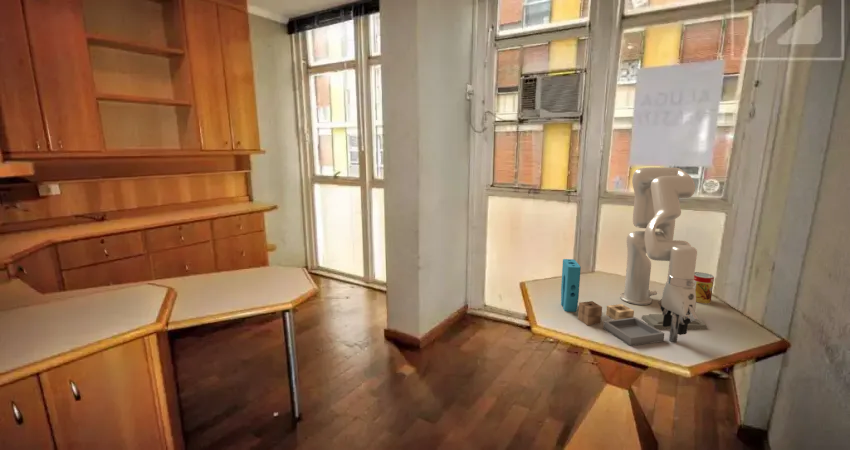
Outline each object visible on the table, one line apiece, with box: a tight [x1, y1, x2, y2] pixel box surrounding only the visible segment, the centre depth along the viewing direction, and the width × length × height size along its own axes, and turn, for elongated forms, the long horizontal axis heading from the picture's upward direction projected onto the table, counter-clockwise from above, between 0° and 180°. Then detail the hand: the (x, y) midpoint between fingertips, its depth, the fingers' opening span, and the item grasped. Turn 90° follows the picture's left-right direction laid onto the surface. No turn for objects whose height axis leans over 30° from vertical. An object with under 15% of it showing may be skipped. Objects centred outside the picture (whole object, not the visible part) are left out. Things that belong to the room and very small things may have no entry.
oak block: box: [605, 303, 635, 320], centre depth 160 cm, size 7×7×4 cm
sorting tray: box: [602, 316, 666, 347], centre depth 146 cm, size 14×14×3 cm
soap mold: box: [640, 313, 708, 330], centre depth 154 cm, size 10×20×4 cm, turn 88°
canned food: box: [693, 271, 715, 305], centre depth 176 cm, size 8×8×12 cm
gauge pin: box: [668, 312, 680, 344], centre depth 139 cm, size 2×2×12 cm
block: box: [560, 258, 582, 313], centre depth 169 cm, size 12×5×20 cm, turn 172°
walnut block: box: [577, 300, 603, 326], centre depth 157 cm, size 6×6×7 cm
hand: (674, 329), depth 140 cm, fingers open, 5 cm apart
